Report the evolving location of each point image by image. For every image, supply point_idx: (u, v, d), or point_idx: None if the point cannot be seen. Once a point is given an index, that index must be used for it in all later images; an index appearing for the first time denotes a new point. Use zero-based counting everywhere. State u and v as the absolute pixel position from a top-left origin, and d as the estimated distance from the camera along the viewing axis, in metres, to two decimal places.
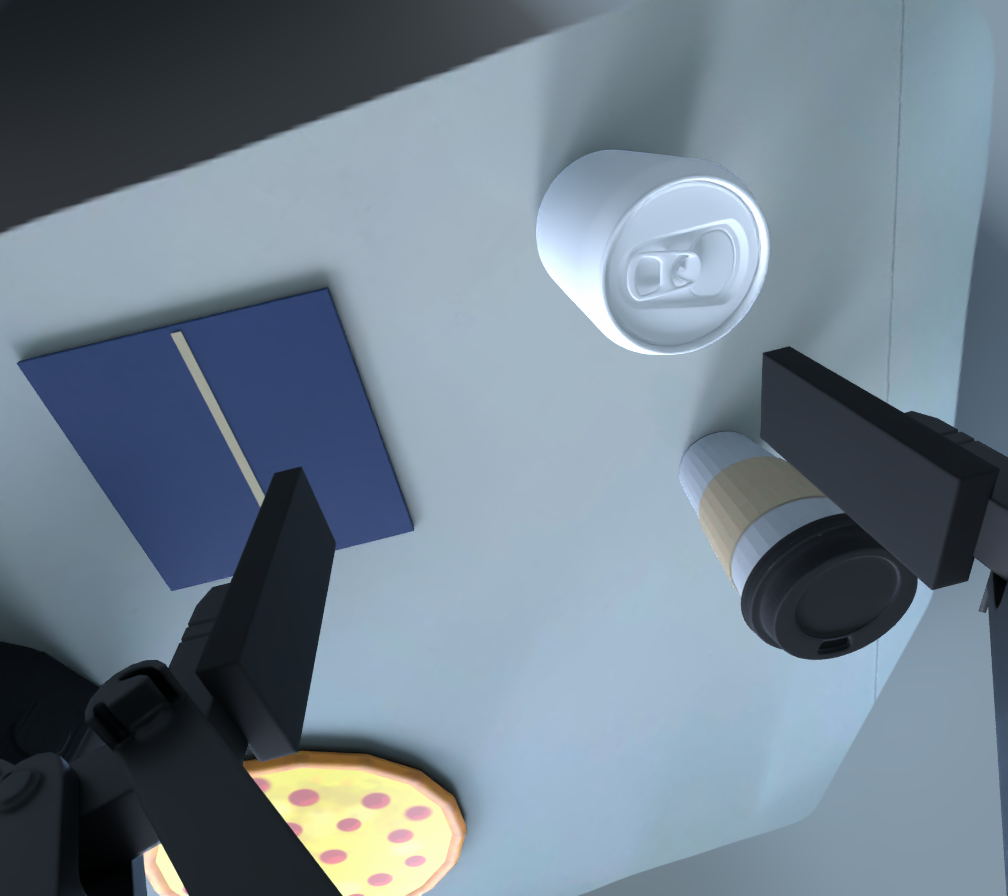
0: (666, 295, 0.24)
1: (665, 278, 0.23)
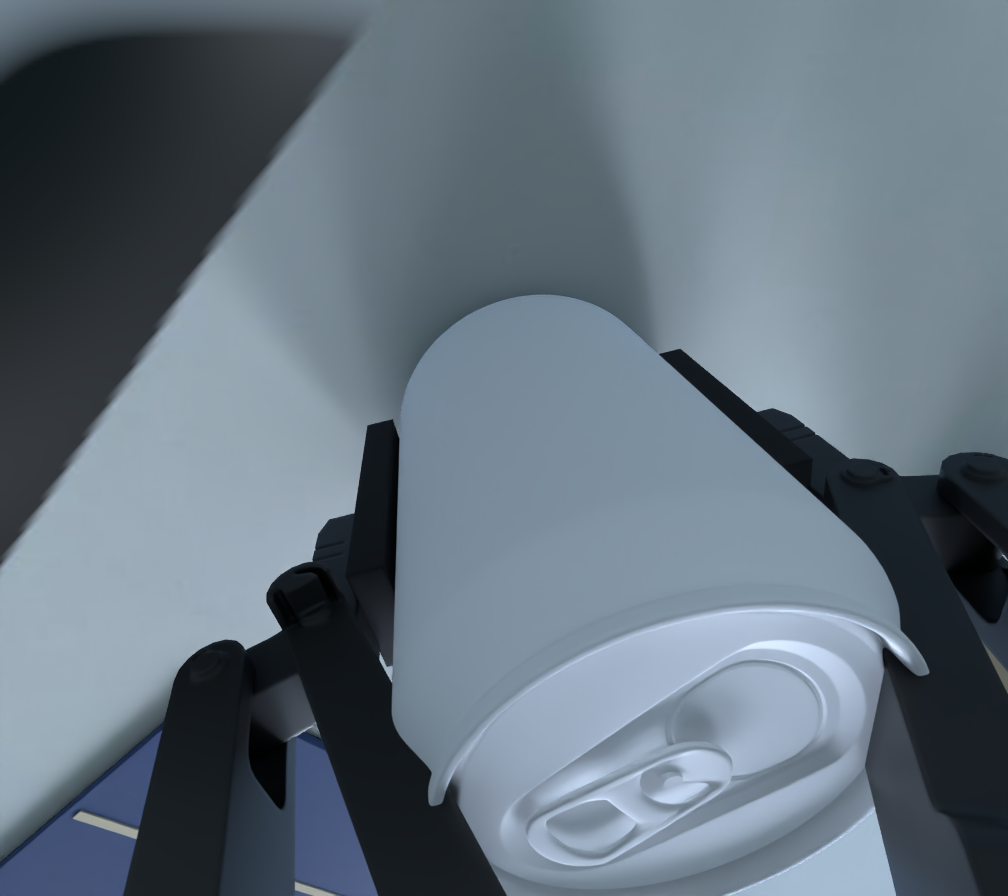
0: None
1: (641, 813, 0.08)
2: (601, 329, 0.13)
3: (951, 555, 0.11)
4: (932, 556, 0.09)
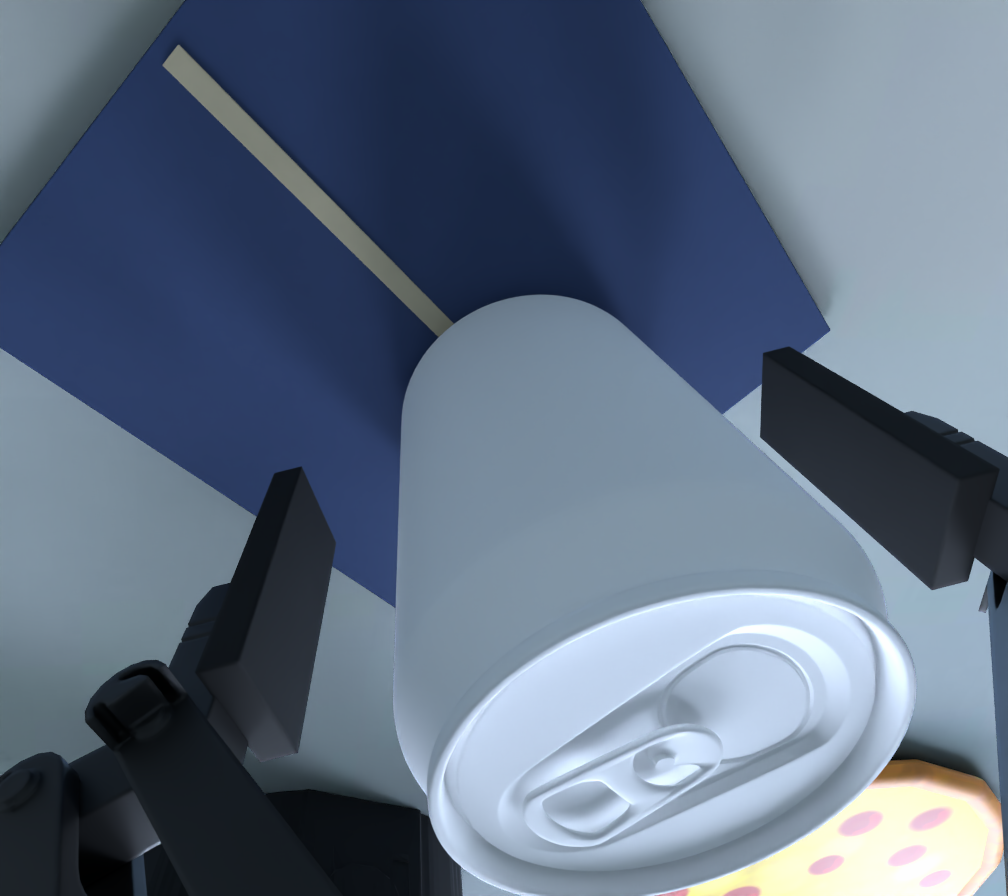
0: None
1: (634, 795, 0.09)
2: (598, 328, 0.14)
3: None
4: None
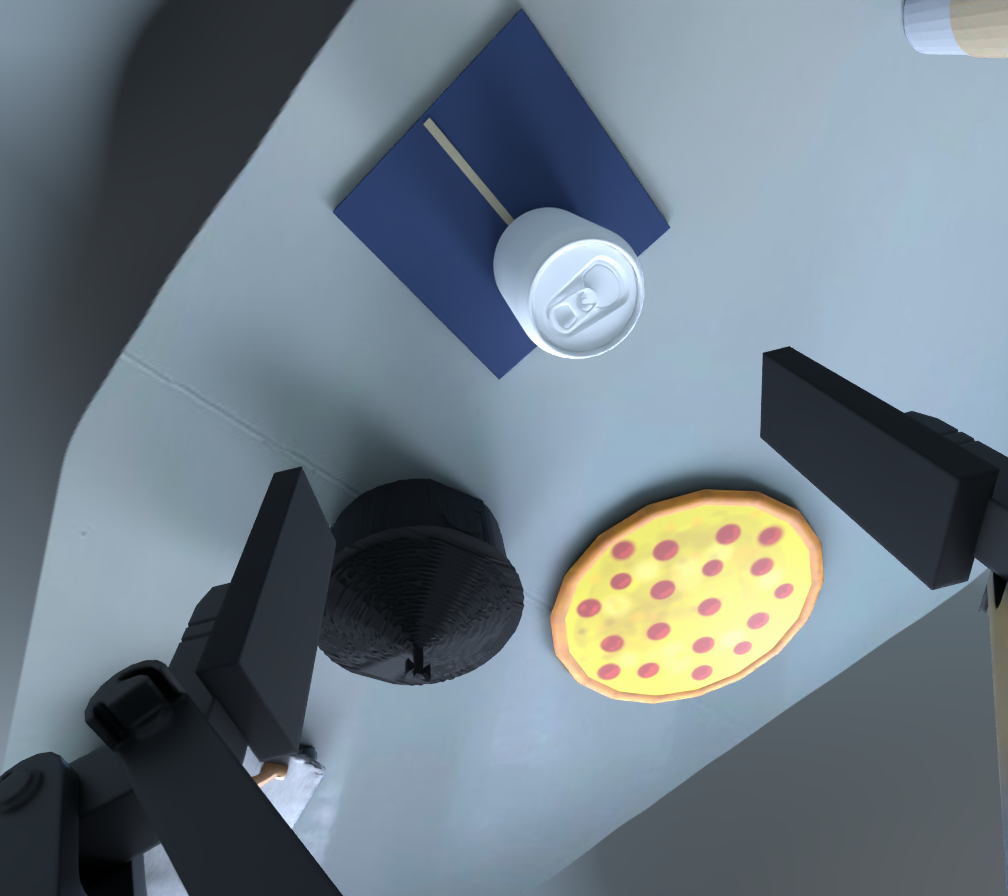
0: (584, 319, 0.35)
1: (577, 311, 0.35)
2: (570, 213, 0.40)
3: None
4: None
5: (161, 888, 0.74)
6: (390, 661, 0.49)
